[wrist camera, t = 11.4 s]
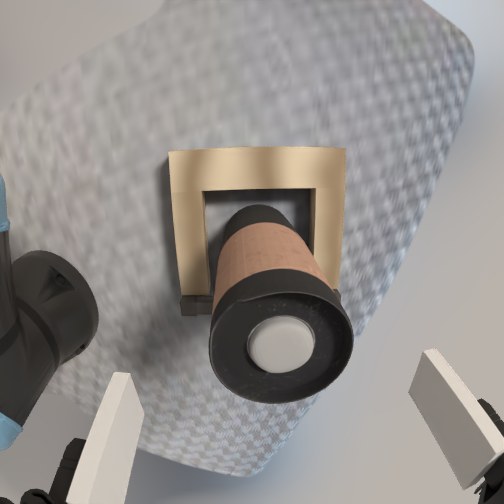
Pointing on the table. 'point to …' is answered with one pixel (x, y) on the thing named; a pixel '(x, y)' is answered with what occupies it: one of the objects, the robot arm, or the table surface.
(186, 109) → the table surface
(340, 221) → the wooden arch frame
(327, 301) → the travel mug
